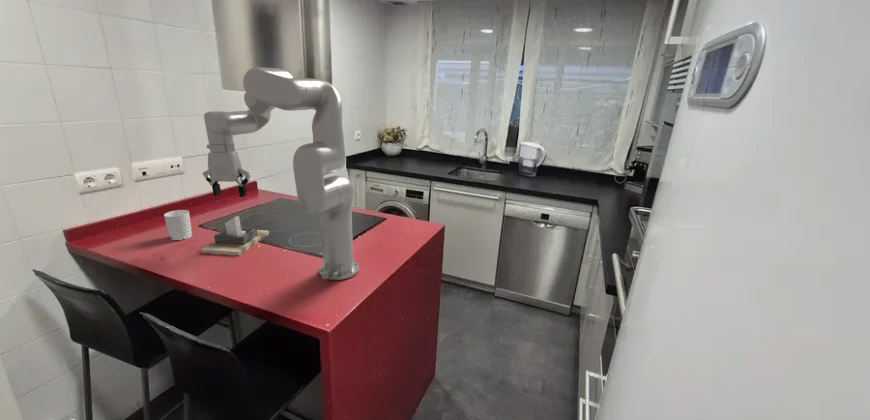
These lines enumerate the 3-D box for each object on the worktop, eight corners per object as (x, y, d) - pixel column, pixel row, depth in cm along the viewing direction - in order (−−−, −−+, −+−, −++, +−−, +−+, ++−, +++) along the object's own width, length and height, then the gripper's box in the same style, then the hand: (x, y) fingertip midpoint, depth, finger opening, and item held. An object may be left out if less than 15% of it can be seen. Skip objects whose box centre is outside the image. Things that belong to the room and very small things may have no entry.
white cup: (169, 243, 137) (164, 218, 134) (169, 236, 143) (163, 212, 140) (194, 238, 141) (189, 214, 138) (192, 232, 147) (188, 208, 144)
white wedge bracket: (246, 238, 133) (234, 217, 132) (231, 246, 138) (220, 225, 137) (254, 235, 136) (243, 214, 135) (240, 243, 141) (229, 222, 140)
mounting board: (239, 255, 128) (237, 244, 127) (201, 253, 129) (199, 241, 128) (269, 234, 147) (267, 223, 146) (235, 232, 148) (234, 221, 147)
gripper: (191, 149, 124) (200, 197, 129) (239, 150, 122) (247, 199, 128) (206, 146, 131) (214, 192, 136) (252, 147, 130) (259, 193, 135)
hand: (230, 195), depth 132 cm, fingers open, 9 cm apart
